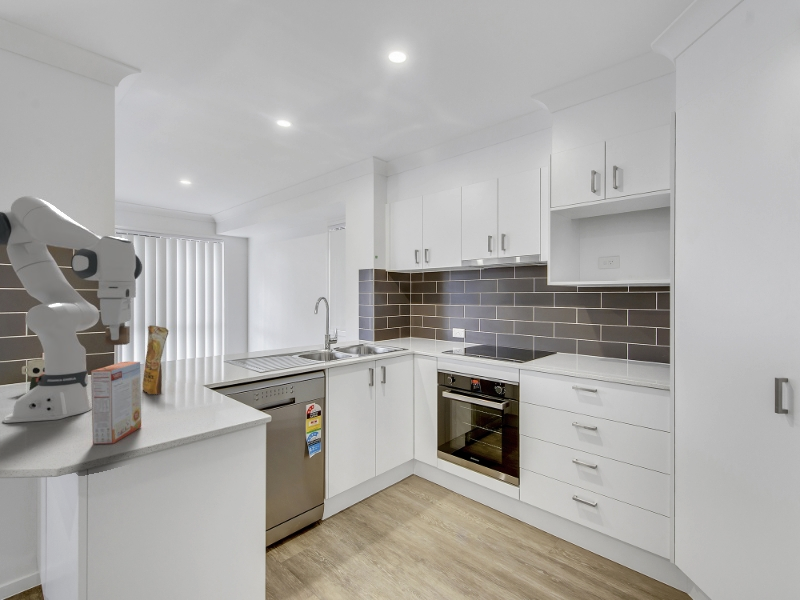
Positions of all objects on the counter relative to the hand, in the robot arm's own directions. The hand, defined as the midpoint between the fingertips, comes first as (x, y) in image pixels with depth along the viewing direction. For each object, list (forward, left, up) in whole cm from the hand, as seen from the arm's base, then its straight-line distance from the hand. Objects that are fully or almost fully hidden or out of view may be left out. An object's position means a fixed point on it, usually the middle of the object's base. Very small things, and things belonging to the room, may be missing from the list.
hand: (117, 338), depth 114 cm
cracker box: (0, 0, -29) cm, 29 cm away
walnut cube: (0, 0, -2) cm, 2 cm away
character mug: (-41, +78, -29) cm, 93 cm away
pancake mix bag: (+3, +57, -29) cm, 64 cm away
